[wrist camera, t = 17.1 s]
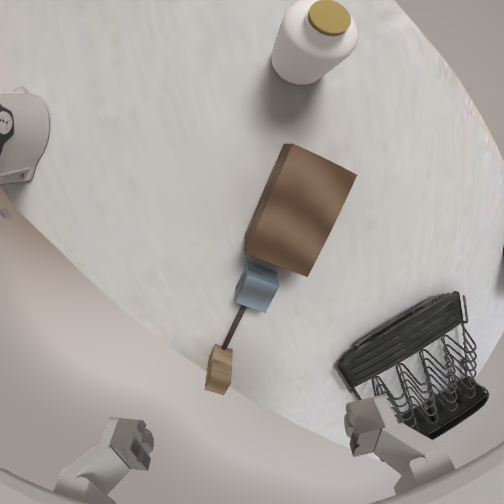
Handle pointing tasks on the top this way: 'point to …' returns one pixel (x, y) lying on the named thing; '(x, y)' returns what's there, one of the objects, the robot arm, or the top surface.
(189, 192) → the top surface
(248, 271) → the tethered block
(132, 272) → the top surface
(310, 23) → the potion bottle
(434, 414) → the dish rack
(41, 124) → the robot arm
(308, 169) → the cubby
